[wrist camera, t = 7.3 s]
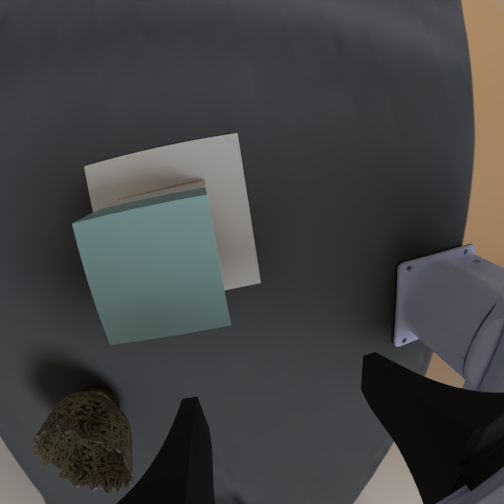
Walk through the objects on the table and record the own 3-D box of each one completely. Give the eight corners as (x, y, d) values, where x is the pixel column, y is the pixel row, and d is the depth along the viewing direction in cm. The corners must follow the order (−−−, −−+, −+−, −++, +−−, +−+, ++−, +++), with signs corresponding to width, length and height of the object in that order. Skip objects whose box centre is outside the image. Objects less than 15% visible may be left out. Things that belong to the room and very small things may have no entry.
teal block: (205, 186, 14) (207, 194, 10) (223, 290, 15) (231, 325, 12) (99, 208, 13) (72, 223, 10) (126, 307, 15) (110, 345, 11)
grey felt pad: (236, 133, 19) (237, 133, 19) (260, 281, 22) (260, 282, 22) (85, 166, 18) (84, 166, 17) (121, 307, 21) (120, 309, 20)
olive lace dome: (46, 376, 21) (13, 439, 14) (107, 351, 22) (81, 424, 14) (96, 432, 24) (81, 497, 16) (158, 414, 24) (153, 487, 16)
